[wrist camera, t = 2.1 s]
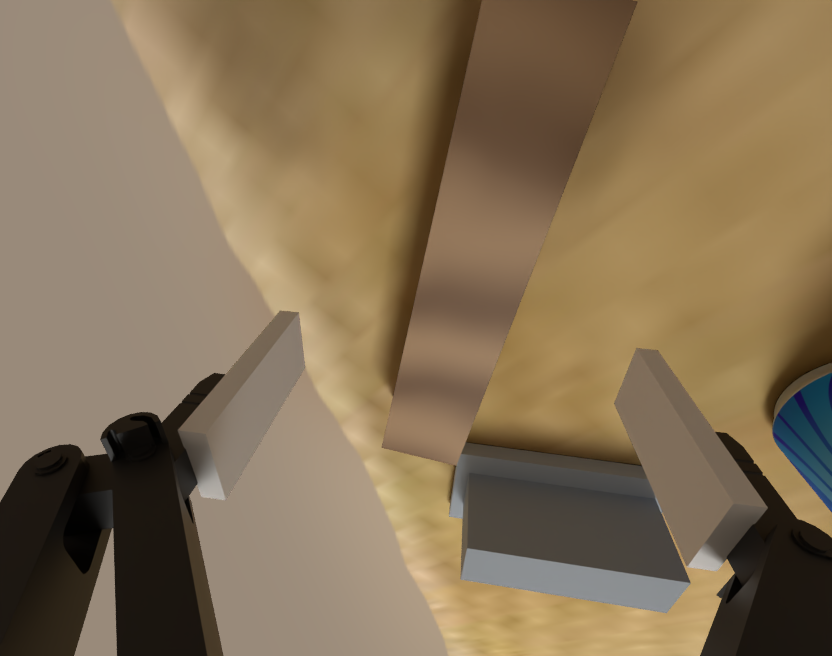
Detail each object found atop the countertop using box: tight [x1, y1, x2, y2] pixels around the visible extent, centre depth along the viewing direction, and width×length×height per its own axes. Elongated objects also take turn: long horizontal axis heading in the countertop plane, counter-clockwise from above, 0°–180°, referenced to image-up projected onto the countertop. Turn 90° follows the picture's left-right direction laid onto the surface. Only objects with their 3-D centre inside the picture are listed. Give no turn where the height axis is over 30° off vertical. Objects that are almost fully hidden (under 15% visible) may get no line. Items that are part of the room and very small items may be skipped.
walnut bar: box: [382, 0, 637, 466], centre depth 22 cm, size 24×5×5 cm, turn 169°
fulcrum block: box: [449, 442, 690, 613], centre depth 30 cm, size 8×16×7 cm, turn 87°
